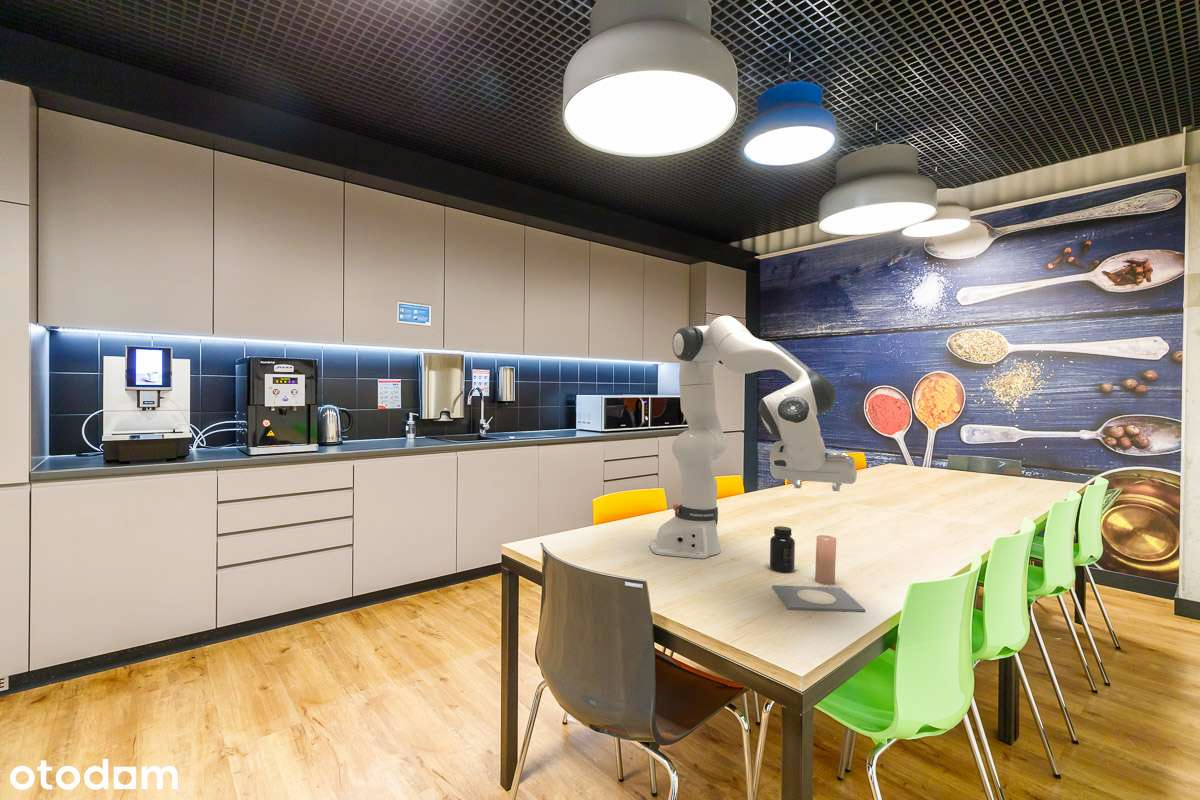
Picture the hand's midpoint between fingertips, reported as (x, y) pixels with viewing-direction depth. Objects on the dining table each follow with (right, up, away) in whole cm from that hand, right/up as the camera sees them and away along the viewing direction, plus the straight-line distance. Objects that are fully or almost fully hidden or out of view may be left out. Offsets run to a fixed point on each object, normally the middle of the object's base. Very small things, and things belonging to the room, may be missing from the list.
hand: (817, 487), depth 141 cm
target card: (-2, -27, -4) cm, 28 cm away
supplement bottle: (-3, -27, +18) cm, 32 cm away
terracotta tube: (+5, -27, +8) cm, 29 cm away
